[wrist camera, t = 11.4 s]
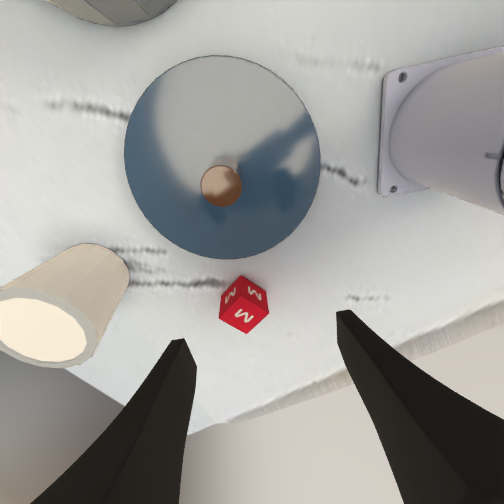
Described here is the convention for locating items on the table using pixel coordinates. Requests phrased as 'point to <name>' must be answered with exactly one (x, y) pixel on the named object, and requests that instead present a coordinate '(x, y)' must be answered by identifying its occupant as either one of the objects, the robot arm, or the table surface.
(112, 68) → the table surface
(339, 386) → the table surface
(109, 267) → the beige cup
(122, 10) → the bowl
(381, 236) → the table surface
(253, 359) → the table surface
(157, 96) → the lid
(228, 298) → the red letter cube
